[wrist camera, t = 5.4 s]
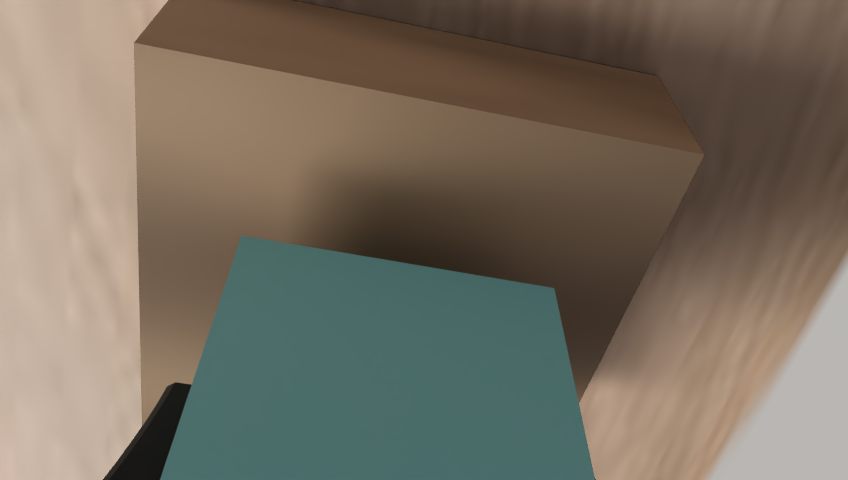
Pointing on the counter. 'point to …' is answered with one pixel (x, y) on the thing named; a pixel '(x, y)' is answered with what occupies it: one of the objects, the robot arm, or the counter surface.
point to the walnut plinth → (390, 164)
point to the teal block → (378, 375)
